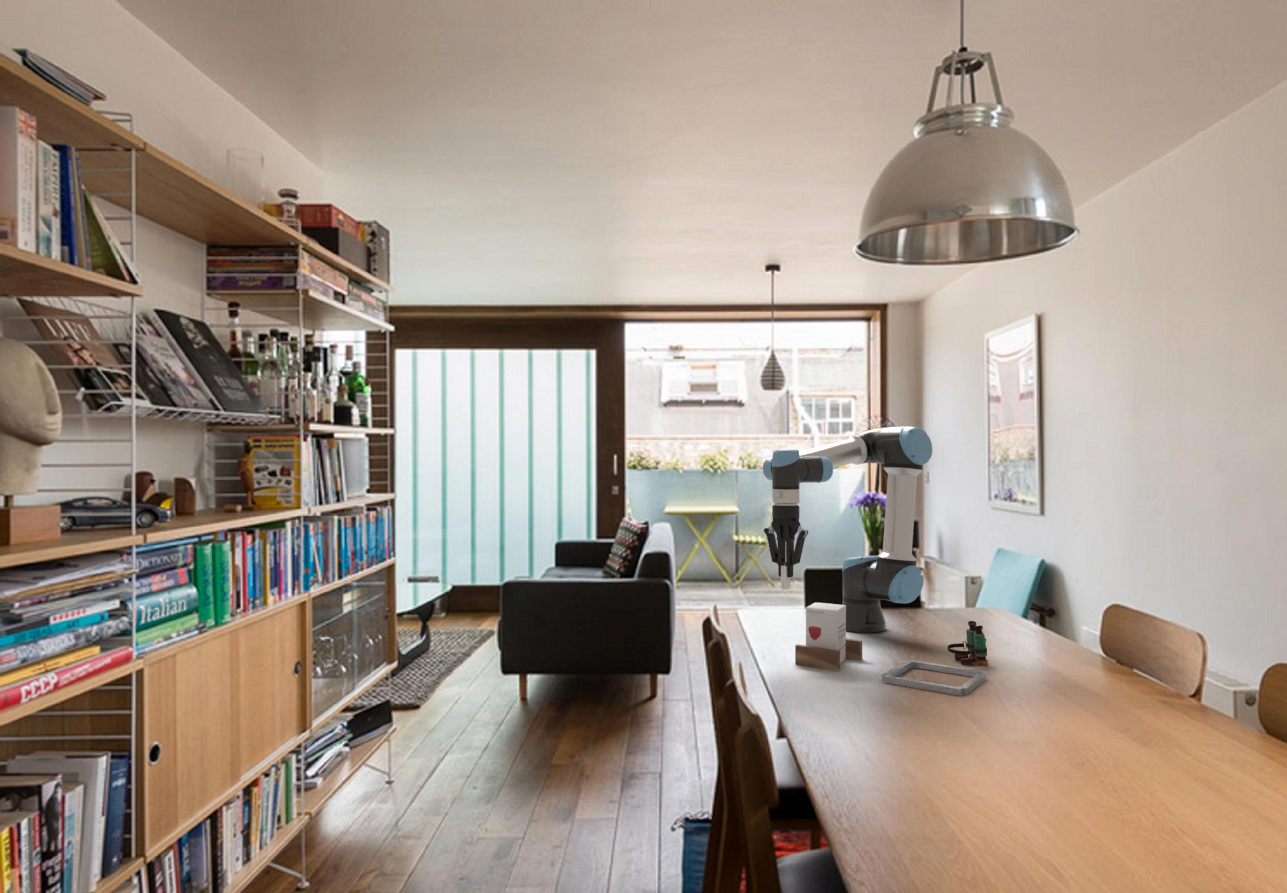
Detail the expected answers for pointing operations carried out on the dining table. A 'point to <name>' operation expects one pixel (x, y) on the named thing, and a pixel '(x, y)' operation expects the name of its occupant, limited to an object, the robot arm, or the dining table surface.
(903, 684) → the gray rectangular frame
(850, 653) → the wooden blocks
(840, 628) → the supplement box
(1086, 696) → the dining table surface
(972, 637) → the binoculars
